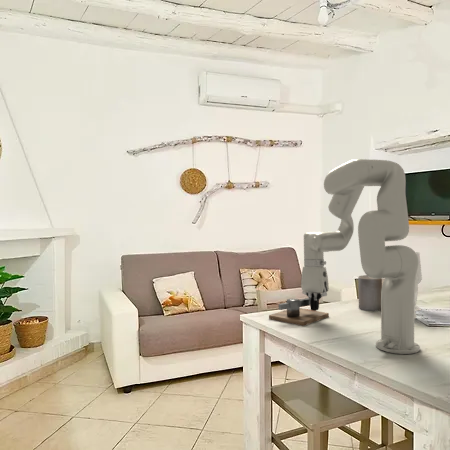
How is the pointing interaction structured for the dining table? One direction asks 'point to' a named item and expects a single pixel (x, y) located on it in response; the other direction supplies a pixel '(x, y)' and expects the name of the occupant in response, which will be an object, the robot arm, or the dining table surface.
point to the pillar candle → (369, 293)
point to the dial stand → (300, 317)
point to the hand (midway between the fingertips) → (314, 309)
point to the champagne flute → (418, 275)
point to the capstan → (294, 306)
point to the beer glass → (415, 297)
